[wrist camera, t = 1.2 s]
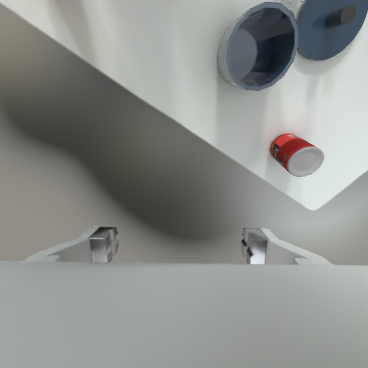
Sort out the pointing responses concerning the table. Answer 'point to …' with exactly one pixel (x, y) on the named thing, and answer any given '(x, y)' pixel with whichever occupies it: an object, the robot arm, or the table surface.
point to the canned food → (296, 155)
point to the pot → (259, 47)
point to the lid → (329, 26)
